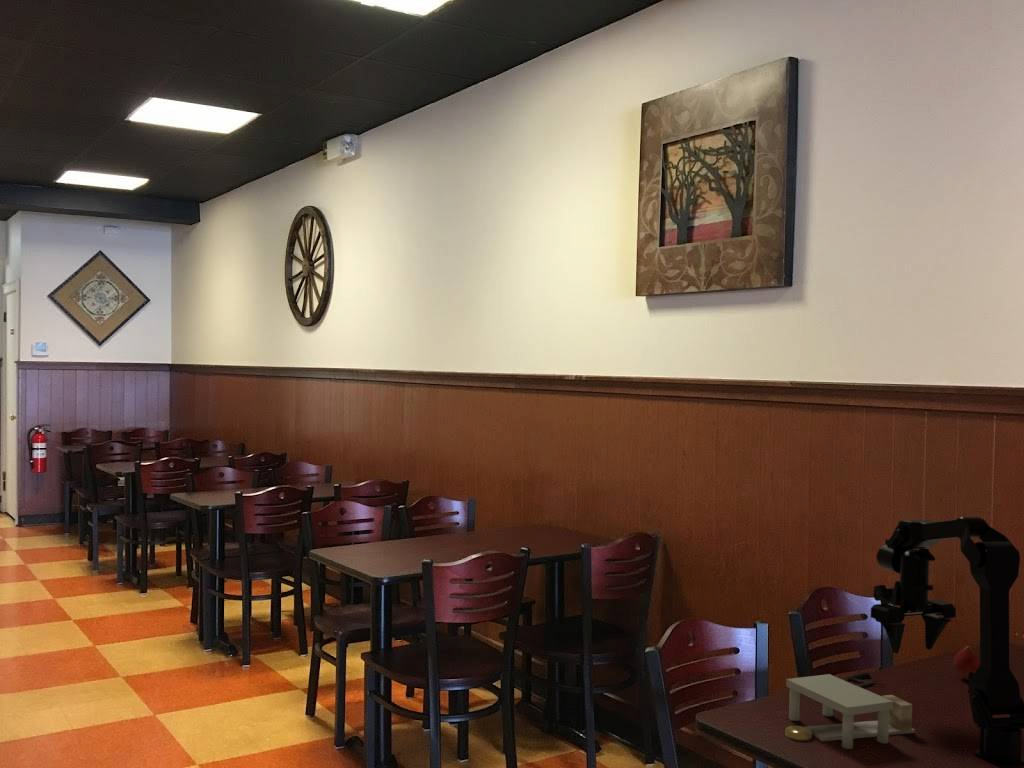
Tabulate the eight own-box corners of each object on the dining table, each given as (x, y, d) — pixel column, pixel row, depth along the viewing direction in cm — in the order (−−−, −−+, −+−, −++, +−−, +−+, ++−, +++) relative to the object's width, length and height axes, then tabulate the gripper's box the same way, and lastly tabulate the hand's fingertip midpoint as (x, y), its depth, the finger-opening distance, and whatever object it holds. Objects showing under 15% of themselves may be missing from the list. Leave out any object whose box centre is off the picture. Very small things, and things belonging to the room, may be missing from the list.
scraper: (914, 734, 193) (915, 704, 193) (822, 742, 187) (823, 711, 187) (894, 723, 199) (895, 694, 199) (804, 731, 193) (805, 701, 193)
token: (817, 740, 188) (817, 734, 188) (795, 743, 186) (795, 737, 186) (801, 730, 193) (801, 724, 193) (780, 733, 191) (780, 727, 191)
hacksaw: (865, 676, 231) (865, 670, 231) (903, 688, 222) (903, 682, 222) (796, 692, 218) (796, 685, 218) (834, 705, 209) (835, 698, 209)
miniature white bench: (892, 742, 187) (893, 701, 187) (846, 749, 183) (848, 707, 183) (828, 712, 204) (829, 674, 204) (785, 718, 200) (786, 679, 199)
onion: (947, 677, 231) (948, 643, 231) (964, 674, 233) (965, 641, 233) (968, 684, 225) (969, 650, 225) (985, 681, 228) (986, 647, 228)
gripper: (918, 569, 219) (916, 638, 219) (853, 573, 212) (851, 644, 212) (958, 579, 209) (956, 651, 209) (891, 584, 202) (888, 659, 202)
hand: (912, 651), depth 208 cm, fingers open, 9 cm apart
